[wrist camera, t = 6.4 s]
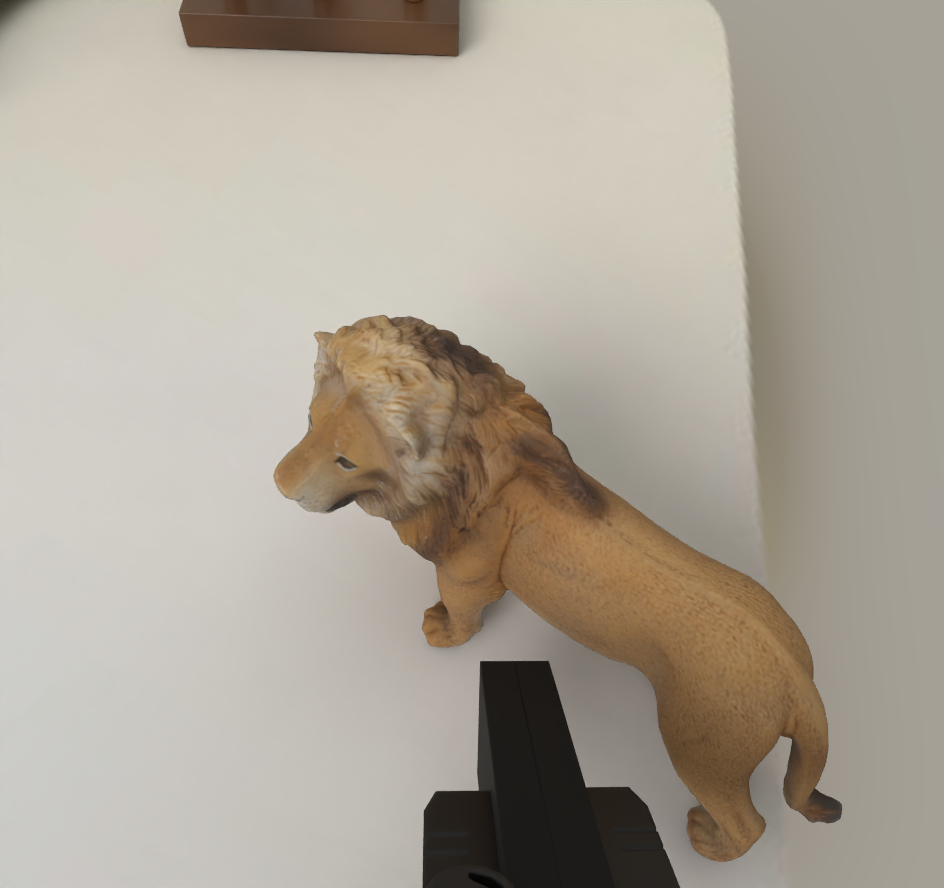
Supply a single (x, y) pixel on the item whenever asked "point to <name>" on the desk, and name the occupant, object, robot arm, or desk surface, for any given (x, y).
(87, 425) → the desk surface
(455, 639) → the lion figurine
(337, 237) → the desk surface
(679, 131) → the desk surface
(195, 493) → the desk surface
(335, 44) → the walnut rack
